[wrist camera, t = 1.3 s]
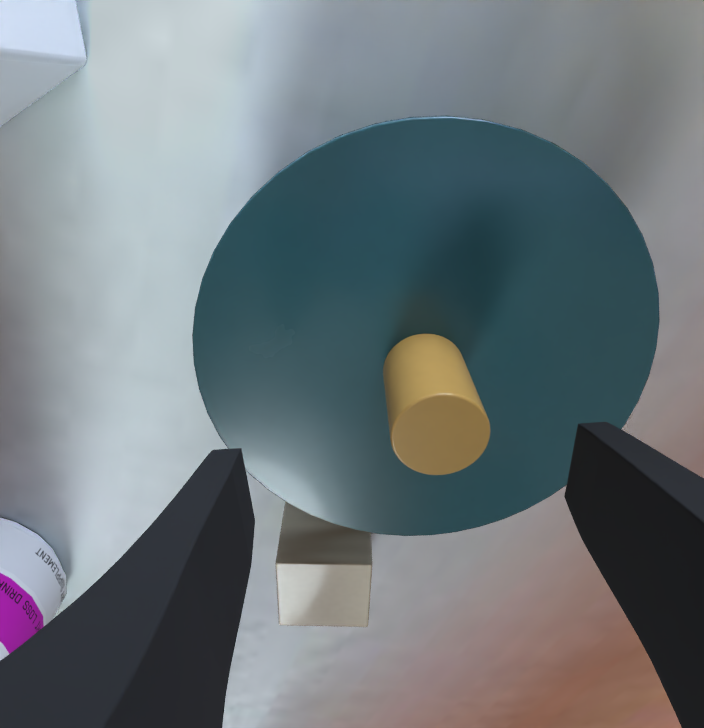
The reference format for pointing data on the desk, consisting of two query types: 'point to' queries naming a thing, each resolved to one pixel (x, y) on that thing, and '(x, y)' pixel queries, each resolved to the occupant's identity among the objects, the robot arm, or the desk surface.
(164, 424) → the desk surface
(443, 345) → the lid
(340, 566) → the block
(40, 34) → the jar
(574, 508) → the robot arm
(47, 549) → the supplement can
